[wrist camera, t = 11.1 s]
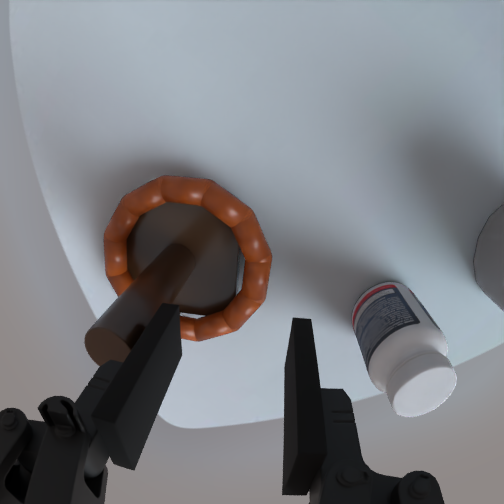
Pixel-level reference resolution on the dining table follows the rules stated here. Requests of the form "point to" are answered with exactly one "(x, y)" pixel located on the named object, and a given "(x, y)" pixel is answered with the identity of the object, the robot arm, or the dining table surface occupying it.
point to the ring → (223, 209)
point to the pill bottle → (403, 349)
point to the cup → (491, 258)
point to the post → (168, 275)
